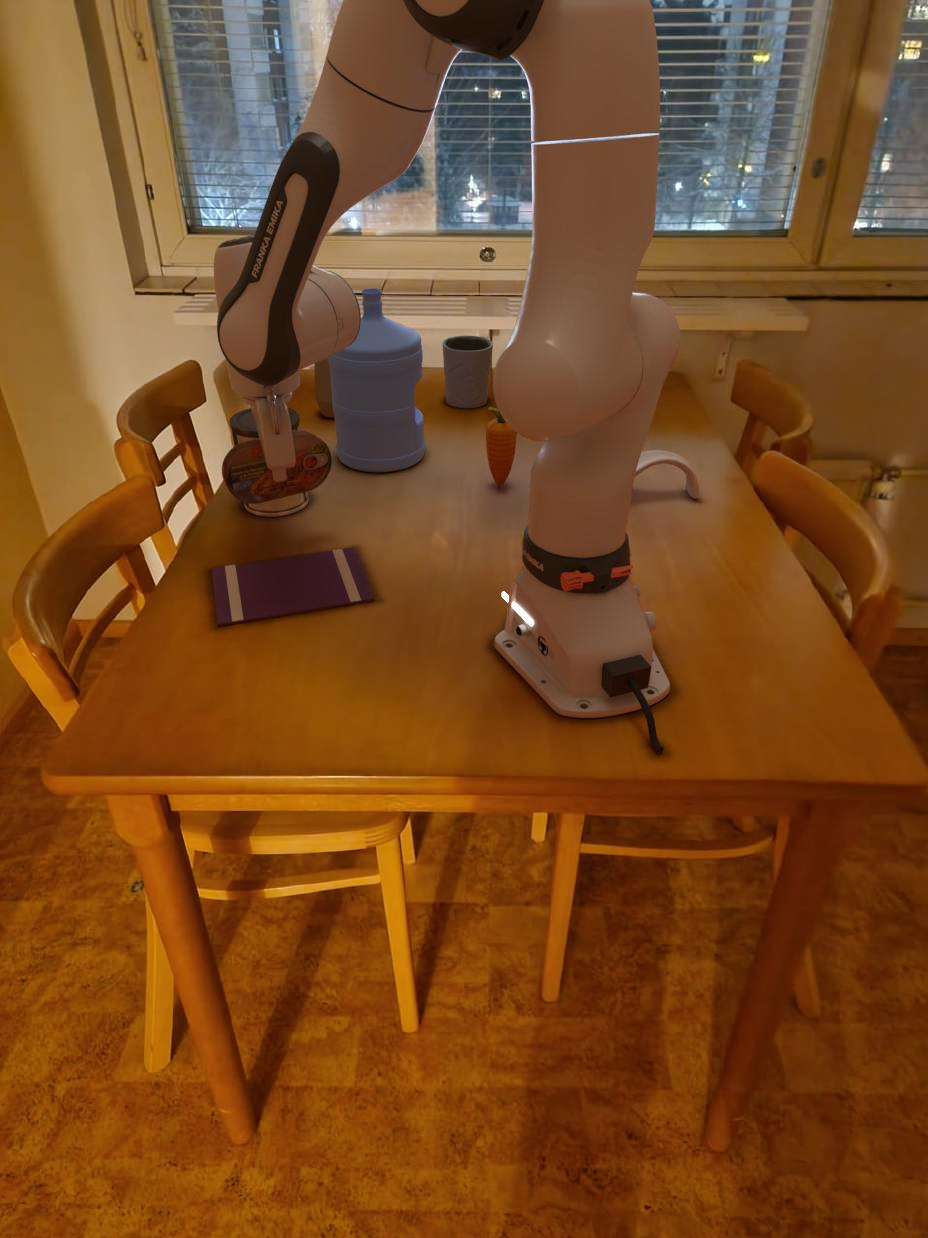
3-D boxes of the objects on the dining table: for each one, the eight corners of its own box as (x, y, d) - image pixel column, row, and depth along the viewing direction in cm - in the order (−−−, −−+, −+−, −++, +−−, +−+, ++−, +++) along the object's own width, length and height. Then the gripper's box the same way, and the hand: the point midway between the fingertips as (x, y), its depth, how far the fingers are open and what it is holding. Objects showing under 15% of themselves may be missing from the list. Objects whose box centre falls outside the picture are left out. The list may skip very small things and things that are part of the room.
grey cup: (461, 389, 173) (462, 332, 166) (501, 399, 168) (503, 340, 161) (433, 403, 166) (431, 343, 159) (473, 413, 161) (473, 353, 154)
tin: (231, 510, 109) (221, 453, 104) (223, 499, 111) (214, 443, 106) (334, 486, 115) (330, 431, 110) (326, 476, 117) (322, 422, 112)
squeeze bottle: (365, 411, 162) (359, 318, 152) (339, 423, 157) (331, 328, 146) (334, 403, 166) (325, 312, 156) (307, 415, 160) (297, 322, 150)
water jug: (371, 482, 135) (359, 308, 119) (320, 454, 145) (302, 289, 129) (443, 457, 144) (441, 291, 128) (390, 432, 153) (381, 275, 137)
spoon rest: (555, 513, 126) (558, 471, 122) (545, 481, 136) (547, 440, 132) (704, 510, 127) (713, 468, 123) (684, 478, 137) (691, 438, 133)
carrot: (512, 494, 132) (515, 405, 123) (482, 491, 132) (483, 402, 124) (516, 481, 136) (520, 394, 127) (487, 478, 136) (489, 391, 128)
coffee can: (231, 502, 129) (215, 417, 121) (285, 482, 135) (274, 400, 127) (267, 523, 123) (253, 436, 115) (322, 502, 129) (313, 417, 121)
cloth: (374, 600, 106) (374, 597, 106) (218, 626, 101) (217, 623, 101) (354, 549, 117) (354, 546, 117) (212, 570, 112) (211, 567, 112)
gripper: (300, 397, 96) (312, 502, 104) (279, 348, 112) (291, 442, 120) (246, 402, 94) (262, 509, 102) (233, 352, 110) (248, 447, 118)
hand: (278, 472), depth 111 cm, fingers closed on tin, 3 cm apart
